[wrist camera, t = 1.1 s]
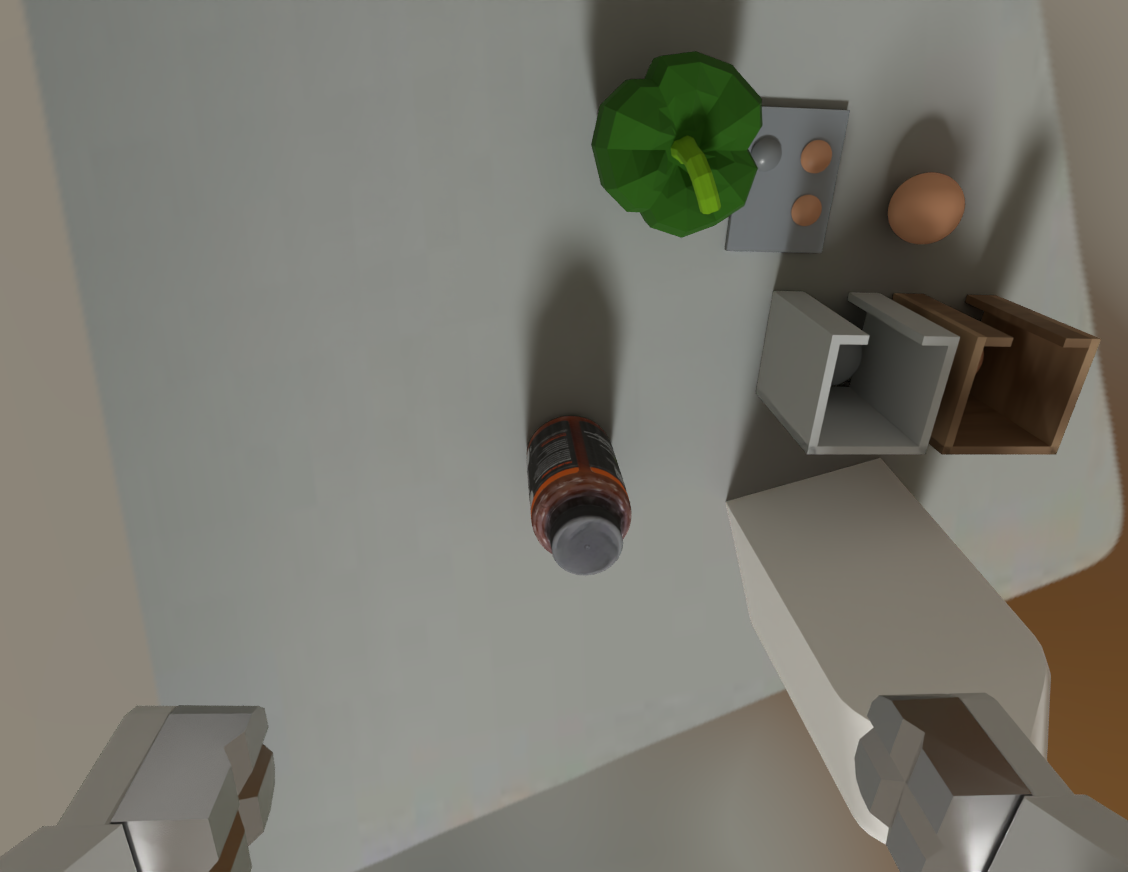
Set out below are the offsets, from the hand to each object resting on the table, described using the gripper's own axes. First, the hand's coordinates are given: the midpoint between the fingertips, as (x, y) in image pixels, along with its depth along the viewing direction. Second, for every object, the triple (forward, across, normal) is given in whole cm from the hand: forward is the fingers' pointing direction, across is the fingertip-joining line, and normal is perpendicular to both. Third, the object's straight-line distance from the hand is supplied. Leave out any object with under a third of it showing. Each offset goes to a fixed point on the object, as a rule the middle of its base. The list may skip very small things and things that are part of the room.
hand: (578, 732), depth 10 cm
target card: (+36, -15, -4) cm, 40 cm away
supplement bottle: (+37, -4, +14) cm, 39 cm away
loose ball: (+36, -23, -3) cm, 43 cm away
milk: (+37, -23, +22) cm, 49 cm away
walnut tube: (+36, -28, +6) cm, 46 cm away
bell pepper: (+36, -7, -6) cm, 38 cm away
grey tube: (+36, -20, +6) cm, 42 cm away
